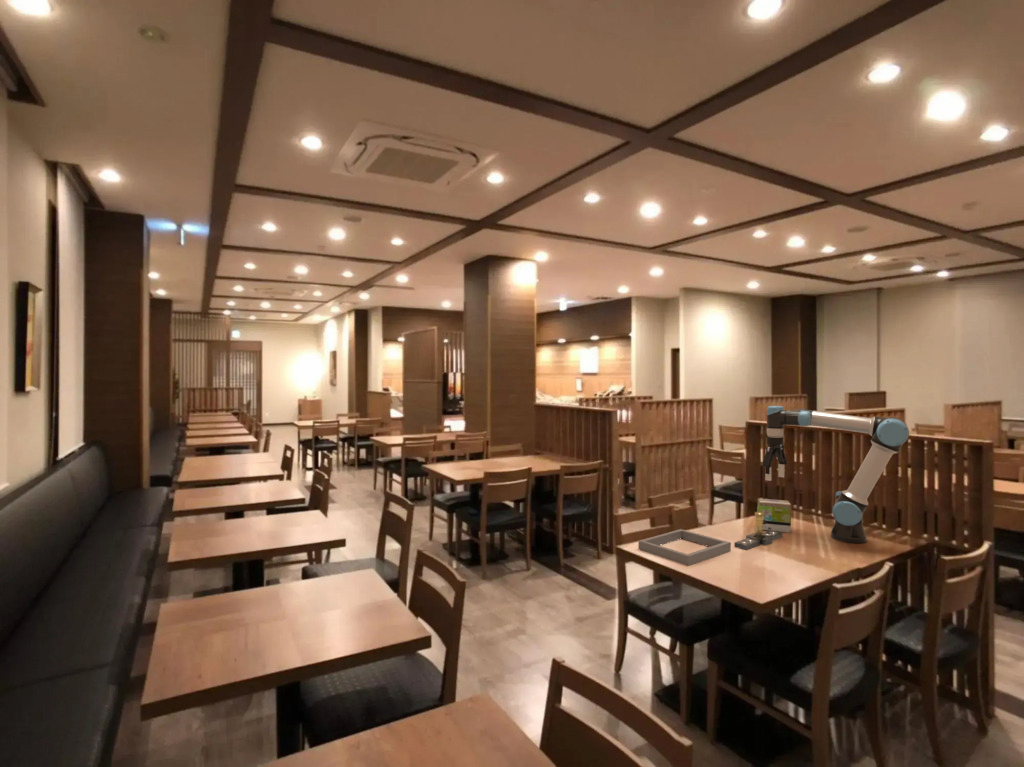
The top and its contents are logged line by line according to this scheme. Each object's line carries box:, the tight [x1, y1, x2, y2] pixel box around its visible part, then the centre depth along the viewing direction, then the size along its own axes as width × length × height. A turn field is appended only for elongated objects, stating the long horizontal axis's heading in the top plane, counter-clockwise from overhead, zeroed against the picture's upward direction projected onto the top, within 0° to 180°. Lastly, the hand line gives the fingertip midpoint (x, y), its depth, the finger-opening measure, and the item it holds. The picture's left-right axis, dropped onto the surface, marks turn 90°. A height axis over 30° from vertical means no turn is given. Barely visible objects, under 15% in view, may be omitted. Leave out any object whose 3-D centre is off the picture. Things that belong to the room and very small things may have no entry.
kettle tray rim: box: [637, 528, 732, 566], centre depth 259 cm, size 27×32×4 cm
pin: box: [754, 511, 764, 539], centre depth 272 cm, size 4×4×14 cm
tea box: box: [756, 498, 792, 534], centre depth 294 cm, size 15×10×15 cm, turn 73°
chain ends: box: [733, 530, 784, 551], centre depth 272 cm, size 9×33×2 cm, turn 128°
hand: (774, 478), depth 283 cm, fingers open, 13 cm apart
